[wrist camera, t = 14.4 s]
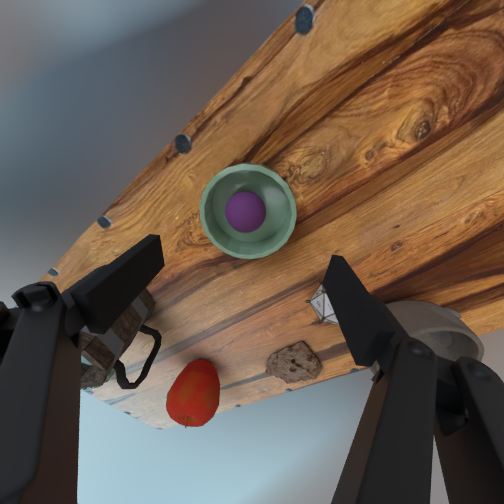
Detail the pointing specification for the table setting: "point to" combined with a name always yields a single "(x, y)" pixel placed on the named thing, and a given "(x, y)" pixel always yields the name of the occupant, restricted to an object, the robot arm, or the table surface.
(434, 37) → the table surface
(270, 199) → the green bowl
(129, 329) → the mug
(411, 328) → the bowl
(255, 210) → the plum ball
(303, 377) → the rock
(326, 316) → the game die
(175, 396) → the apple
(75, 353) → the robot arm
